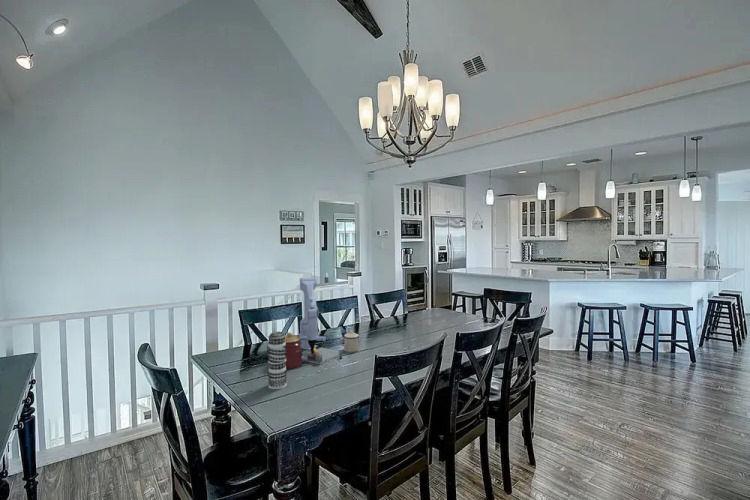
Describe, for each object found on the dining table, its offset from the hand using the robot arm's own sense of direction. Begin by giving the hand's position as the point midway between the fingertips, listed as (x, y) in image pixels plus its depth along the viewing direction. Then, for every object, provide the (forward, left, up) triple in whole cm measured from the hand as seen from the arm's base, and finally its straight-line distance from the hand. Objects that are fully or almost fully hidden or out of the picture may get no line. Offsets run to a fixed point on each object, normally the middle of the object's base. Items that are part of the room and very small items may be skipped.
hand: (312, 353), depth 216 cm
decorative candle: (+9, -38, -4) cm, 39 cm away
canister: (-5, -14, -4) cm, 15 cm away
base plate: (+4, +5, -3) cm, 7 cm away
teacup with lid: (+9, +23, -4) cm, 25 cm away
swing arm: (+2, +1, -2) cm, 3 cm away
